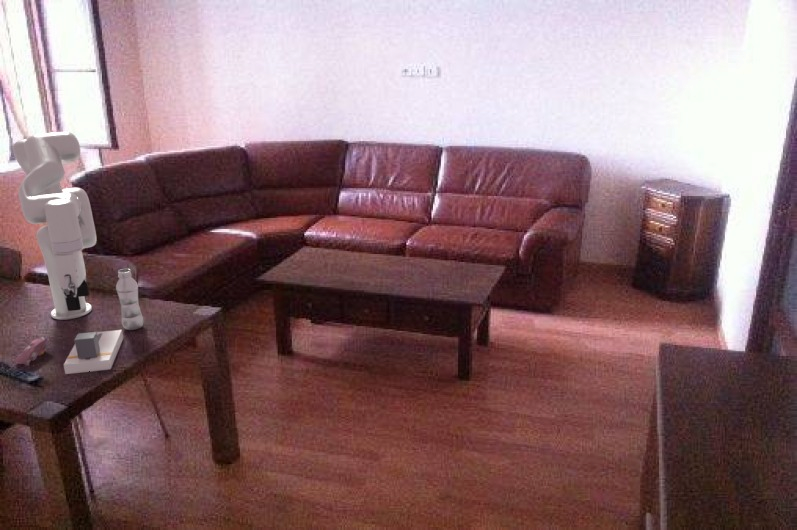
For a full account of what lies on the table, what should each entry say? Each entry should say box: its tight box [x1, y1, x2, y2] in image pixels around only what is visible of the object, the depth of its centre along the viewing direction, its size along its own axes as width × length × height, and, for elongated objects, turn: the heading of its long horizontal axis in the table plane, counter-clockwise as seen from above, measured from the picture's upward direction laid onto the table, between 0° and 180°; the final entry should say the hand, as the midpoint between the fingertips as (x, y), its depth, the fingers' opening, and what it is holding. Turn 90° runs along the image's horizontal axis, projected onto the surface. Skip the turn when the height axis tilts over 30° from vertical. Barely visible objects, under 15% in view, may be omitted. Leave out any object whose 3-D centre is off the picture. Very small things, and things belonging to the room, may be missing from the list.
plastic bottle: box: [115, 268, 144, 331], centre depth 205 cm, size 6×7×20 cm
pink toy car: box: [15, 336, 52, 365], centre depth 190 cm, size 10×5×7 cm, turn 170°
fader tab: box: [74, 331, 100, 359], centre depth 184 cm, size 4×5×6 cm
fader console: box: [63, 329, 124, 375], centre depth 191 cm, size 20×12×3 cm, turn 12°
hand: (78, 302), depth 180 cm, fingers open, 9 cm apart
